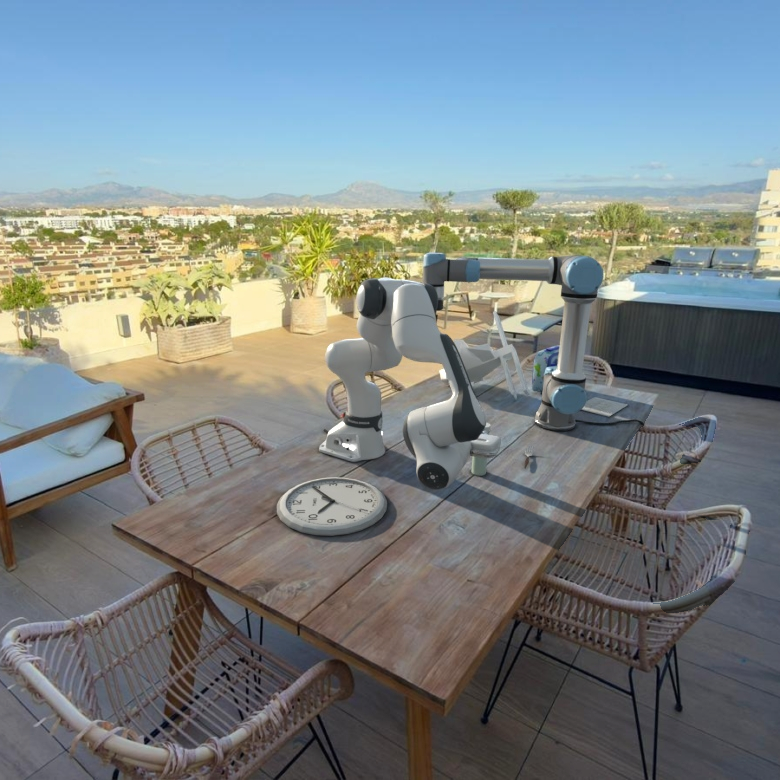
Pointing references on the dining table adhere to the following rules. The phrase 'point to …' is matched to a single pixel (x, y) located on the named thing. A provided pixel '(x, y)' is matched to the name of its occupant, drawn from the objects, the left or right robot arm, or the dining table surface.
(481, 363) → the white plastic object
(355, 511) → the wall clock
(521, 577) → the dining table surface
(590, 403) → the invitation card
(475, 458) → the light green cylinder
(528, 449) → the fork
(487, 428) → the lid
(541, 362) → the lunch box
